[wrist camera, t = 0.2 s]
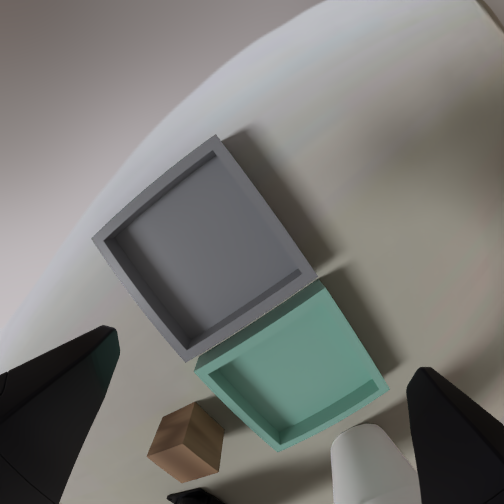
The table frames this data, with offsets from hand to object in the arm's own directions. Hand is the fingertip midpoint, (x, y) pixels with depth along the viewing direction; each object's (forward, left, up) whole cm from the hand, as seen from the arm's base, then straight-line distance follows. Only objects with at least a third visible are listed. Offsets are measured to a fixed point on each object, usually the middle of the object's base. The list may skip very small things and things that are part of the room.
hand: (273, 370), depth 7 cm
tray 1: (-3, +3, -15) cm, 16 cm away
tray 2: (-3, -10, -15) cm, 18 cm away
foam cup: (-3, -23, -15) cm, 28 cm away
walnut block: (-15, -10, -15) cm, 24 cm away
